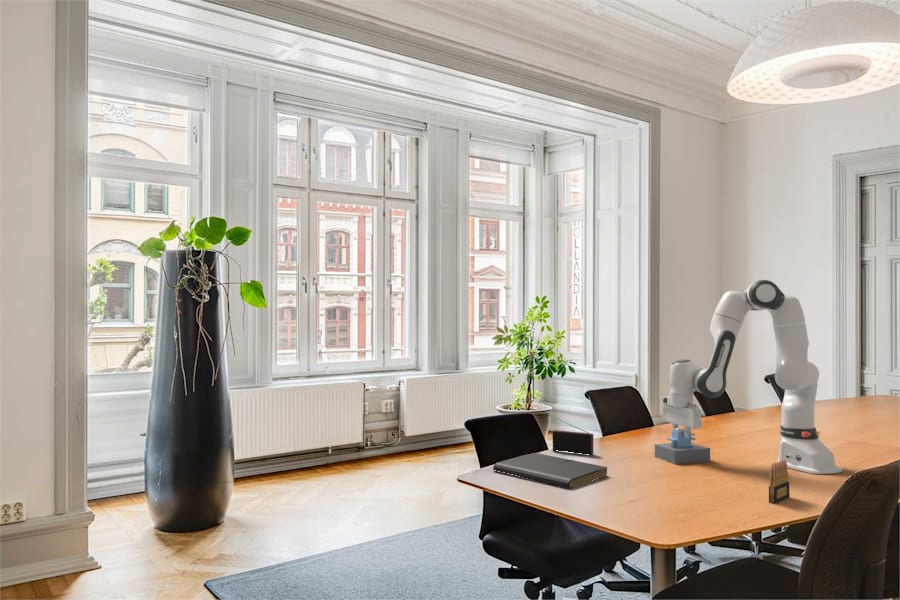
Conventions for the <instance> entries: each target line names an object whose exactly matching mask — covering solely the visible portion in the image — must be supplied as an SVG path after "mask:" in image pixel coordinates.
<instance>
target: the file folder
mask: <svg viewBox="0 0 900 600" xmlns="http://www.w3.org/2000/svg"><path fill="white" fill-rule="evenodd" d="M492 470H493V471H494V470H496V471H500V472H505V473H509V474H513V475H517V476H520V477H524V478H528V479H532V480H535V481H534V482H537V481H539V482H538V483H541V482H543V483H542V484H545V483H547V484H546V485H550V484H551V486H554V485H556V486H555V487H558V486H560V487H559V488H562V487H564V489H567V488H568V489H567V490H570V489H571V488H570V487H573V488H575V487H574V486H576V487H578V486H577V485H579V486H581V485H580V484H582V485H584V484H583V483H585V484H587V483H586V482H588V483H590V482H589V481H591V482H593V481H592V480H594V479H597V478H600V477H603V478H605V477H604V476H606V475H607V476H608V466H604V465H598V464H594V463H588V462H584V461H578V460H574V459H568V458H563V457H558V456H552V455H547V454H542V453H538V452H532V453H529V454H524V455H519V456H516V457H513V458H509V459H505V460H502V461H497V462H496V463H494V465H493V468H492ZM607 476H606V477H607ZM520 477H519V478H520ZM524 478H523V479H524ZM528 479H527V480H528ZM600 479H601V478H600ZM532 480H531V481H532ZM597 480H598V479H597ZM594 481H595V480H594Z"/></svg>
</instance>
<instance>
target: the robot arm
mask: <svg viewBox="0 0 900 600" xmlns="http://www.w3.org/2000/svg"><path fill="white" fill-rule="evenodd" d="M764 310H766V311H767V312H769V313H770V315H771V318H772V326H773V331H774V338H775V347H776V348H775V349H776V354H775V356H776V357H775V358H776V359H775V368H776V369H775V373H774V380H775V383H776V384H777V386H778V387H779V388H781V389H783V390H784V394H783V399H782V401H781V425H780V428H779V431H780V435H781V436H780V437H781V439H780V442H779V443H780V444H779V451H778V457H777V460H776V463H777V462H779V461H781V462H782V460H783V461H784V459H786V462H787V469H791V470H796V471H800V472H804V473H809V474H814V475H815V474H816V475H827V474H829V475H830V474H832V475H833V474H838V473H842V472H843V471H844V470H843V468H842V467H840V466H837V465H836V461H835V460H836V459H835V456H834V453H833V451H831V450H830V449H829V448H828V447H827V446H826V445H825V444H824V443H823V441H821V440H820V439H819V438H820V437H819V436H820V435H821V431H817V429H816V427H815V405H816V397H817V392H818V391H817V390H818V383H819V378H820V370H819V369H818V367H817V365H816V364H814V363H813V362H811V361H810V360H809V361H808V353H809V352H808V350H809V349H808V348H809V344H810V343H809V336H808V330H807V323H806V318H805V314H804V310H803V307H802V304H801V302H800V300H799V299H798V298H797V297H796V296H793V295H785V294H784V293H783V291H782V290H781V289H780V288H779V286H777V284H776V283H774V282H773V281H771V280H768V279H761V280H758V281H755V282H752V283H751V284H750V285H749V286H748V287H747V288H745V289H744V290H743V291H736V290H729V291H726V292H724V294H722V296H721V298H720V300H719V301H718V303H717V306H716V308H715V310H714V313H713V316H712V318H711V321H710V326H709V331H710V334H711V336H712V338H713V340H714V349H713V352H712V355H711V358H710V362H709V365H708V367H707V368H705V367H703V366H700V365H699V364H697V363H695V362H693V361H692V360H690V359H678V360H675V361H673V362H672V363H671V365H670V369H669V385H670V390H669V395H668V396H664V397H662V398H661V403H662V406H661V411H662V413H661V415H662V416H661V417H662V419H663V421H664V422H667V423H671V424H672V425H671V426H672V430H676V428H679V426H681V427H683V429H685V432H684V433H683V437H684V438H689V433H690V431H691V432H692V430H697V429H698V430H699V429H701V428H702V417H701V416H702V415H701V411H700V408H699V407H698V405H697V404H695V403H694V392H698V393H700V394H702V395H703V396H704V397H706V398H711V399H714V398H718V397H720V396H721V395H723V394H724V392H725V391H726V388H727V371H728V367H729V365H730V361H731V358H732V355H733V350H734V347H735V344H736V341H737V338H738V336H739V333H740V331H741V328H742V326H743V323H744V320H745V318H746V315H747V314H748V313H749V311H764Z"/></svg>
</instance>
